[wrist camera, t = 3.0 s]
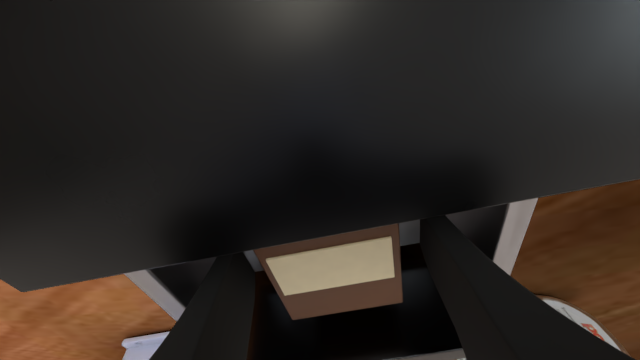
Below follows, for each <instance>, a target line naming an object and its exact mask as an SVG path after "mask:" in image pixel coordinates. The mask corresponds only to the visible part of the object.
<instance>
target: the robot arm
mask: <svg viewBox="0 0 640 360" xmlns="http://www.w3.org/2000/svg"><path fill="white" fill-rule="evenodd" d="M420 246H421V249H422V253H423V256H424V259H425V262H426V265H427V268H428V270H429V272H430V274H431V277H432V279H433V281H434V283H435V285H436V288H437V290H438V292H439V294H440V296H441V299H442V301H443V303H444V305H445V307H446V309H447V312H448V314H449V316H450V318H451V320H452V322H453V325H454V327H455V329H456V332H457V334H458V337H459V340H460V342H461V345H462V348H463V351H464V354H465V356H466V359H467V360H636V359H634V358H632V357H630V356H629V355H627V354H625V353H623V352H622V351H620V350H618V349H617V348H615V347H613V346H612V345H610V344H609V343H607V342H605V341H604V340H602V339H600V338H599V337H597V336H595V335H594V334H592V333H591V332H589V331H588V330H586V329H585V328H583V327H581V326H580V325H578V324H577V323H575V322H574V321H572V320H571V319H569V318H568V317H566V316H565V315H563V314H561V313H560V312H558V311H557V310H555V309H554V308H553V307H551V306H550V305H548V304H547V303H546V302H544V301H543V300H541V299H540V298H539V297H537V296H536V295H534V294H533V293H532V292H530V291H529V290H528V289H526V288H525V287H524V286H522V285H521V284H520V283H519V282H517V281H516V280H515V279H513V278H512V277H511V276H510V275H509V274H507V273H506V272H505V271H504V270H502V269H501V268H500V267H499V266H498V265H497V264H495V263H494V262H493V261H492V260H491V259H490V258H488V257H487V256H486V255H485V254H484V253H483V252H482V251H481V250H480V249H479V248H478V247H476V246H475V245H474V244H473V243H472V242H471V241H470V240H469V239H468V238H467V237H466V236H465V235H464V234H463V233H462V232H461V231H460V230H459V229H458V228H457V227H456V226H455V225H454V224H453V223H452V222H451V221H450V220H449V219H448V218H447V217H446V216H445V215H442V216H437V217H431V218H426V219H420ZM254 301H255V271H254V269H253V268H252V266H251V264H250V263H249V261H248V260H247V258H246V256H245V255H244V253H243V252H240V253H235V254H229V255H224V256H218V257H216V259H215V261H214V263H213V264H212V266H211V268H210V270H209V271H208V273H207V275H206V276H205V278H204V280H203V281H202V283H201V285H200V286H199V288H198V290H197V291H196V293H195V295H194V296H193V298H192V300H191V301H190V303H189V304H188V306H187V307H186V309H185V310H184V312H183V313H182V315H181V316H180V318H179V319H178V321H177V322H176V324H175V325H174V327H173V328H172V330H171V331H170V332H163V333H157V334H151V335H145V336H139V337H133V338H127V339H124V340H123V342H122V346H123V347H125V348H126V349H127V350H126V352H125V355H124V357H123V359H122V360H246V359H247V351H248V344H249V337H250V330H251V323H252V316H253V308H254Z"/></svg>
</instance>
